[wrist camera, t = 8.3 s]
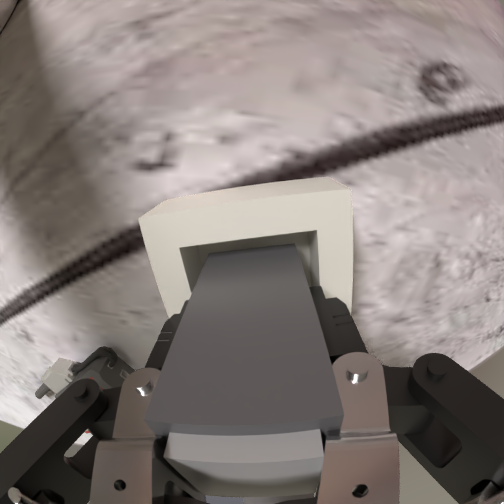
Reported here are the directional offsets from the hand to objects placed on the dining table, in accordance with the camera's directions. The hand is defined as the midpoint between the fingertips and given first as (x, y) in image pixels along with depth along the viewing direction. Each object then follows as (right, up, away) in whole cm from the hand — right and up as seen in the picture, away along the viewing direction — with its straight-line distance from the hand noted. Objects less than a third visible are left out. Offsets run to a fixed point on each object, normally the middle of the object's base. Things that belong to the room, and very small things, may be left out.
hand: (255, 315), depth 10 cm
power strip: (+1, -3, +6) cm, 7 cm away
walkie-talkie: (-16, -11, +11) cm, 23 cm away
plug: (0, +1, +2) cm, 2 cm away
